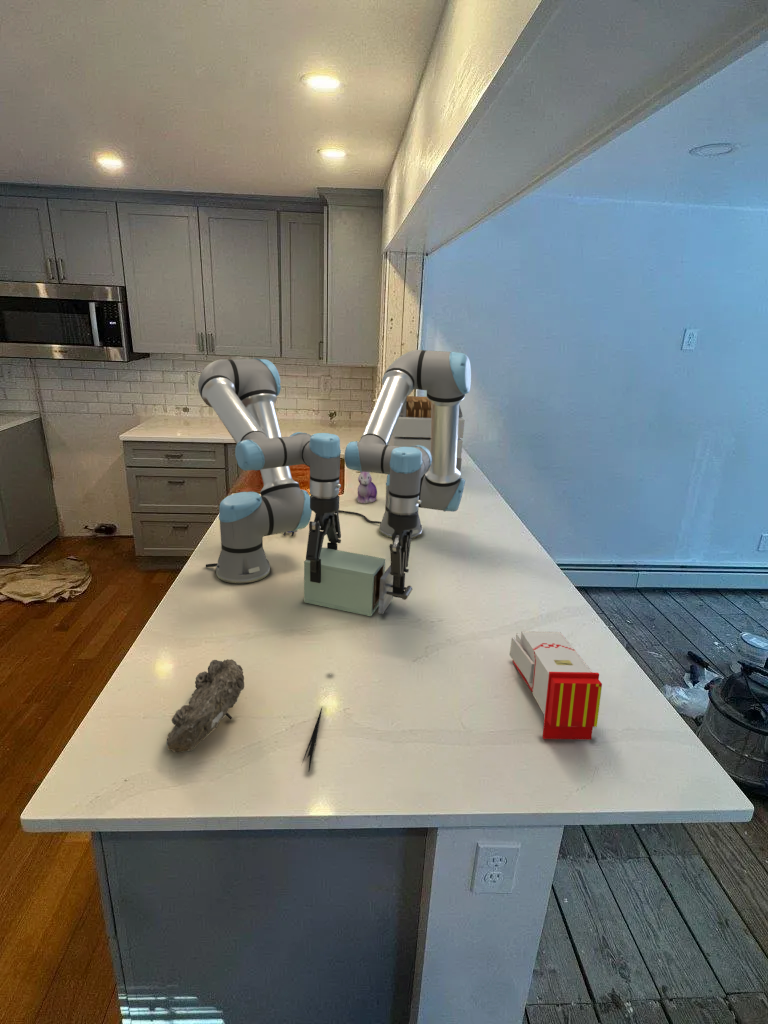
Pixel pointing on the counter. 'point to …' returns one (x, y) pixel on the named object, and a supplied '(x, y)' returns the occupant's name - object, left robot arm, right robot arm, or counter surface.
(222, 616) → the counter surface
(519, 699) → the counter surface
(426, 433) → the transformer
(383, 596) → the drawer
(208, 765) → the counter surface
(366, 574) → the cabinet
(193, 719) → the fossil
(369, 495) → the figurine
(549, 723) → the toy
